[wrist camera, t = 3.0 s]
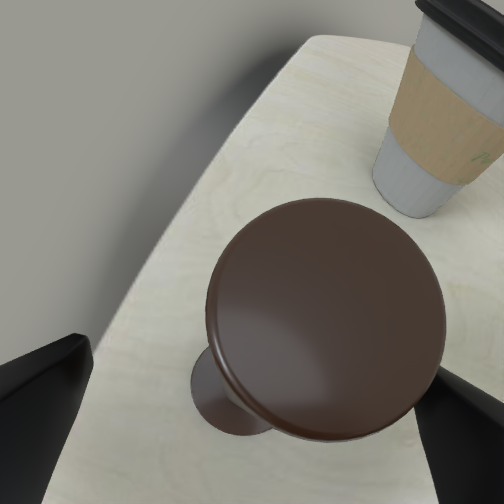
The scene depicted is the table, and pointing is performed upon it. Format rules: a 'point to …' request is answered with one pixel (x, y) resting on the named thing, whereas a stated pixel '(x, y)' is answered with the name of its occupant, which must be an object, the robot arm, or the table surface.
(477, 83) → the coffee cup
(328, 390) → the dark brown rod
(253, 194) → the table surface
